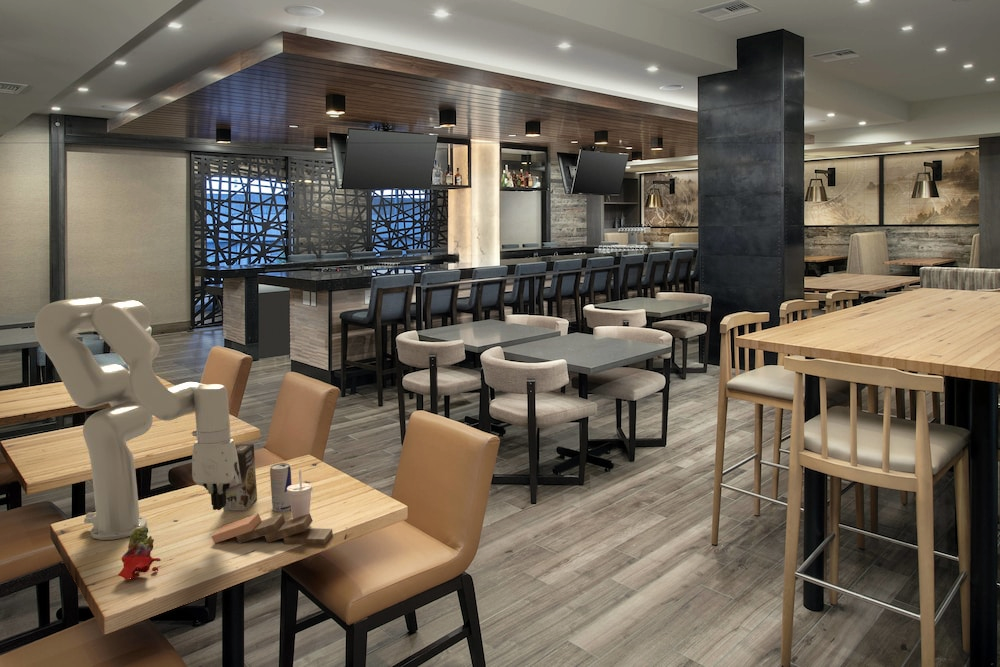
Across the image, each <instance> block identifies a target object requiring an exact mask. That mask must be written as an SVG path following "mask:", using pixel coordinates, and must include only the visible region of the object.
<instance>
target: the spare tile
mask: <svg viewBox="0 0 1000 667" xmlns="http://www.w3.org/2000/svg"><path fill="white" fill-rule="evenodd" d="M261 521H262V519H261V516H260V514H259V513H256V514H252V515H250V516H247V517H244V518H241V519H238V520H235V521H233V522H229V523H226V524H224V525H222V526H221V527H219V529H217V530H216V531H215V532H214V533H213V534H212V535H211V538H212V541H213V543H214V544H217V543H220V542H223V541H226V540H229V539H232V538H234V537H235V538H236V536H238V535H241V534H244V533H247V532H250V531H252V530H253V529H254V528H255V527H256V526H257V525H258V524H259V523H260V522H261Z"/></svg>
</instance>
